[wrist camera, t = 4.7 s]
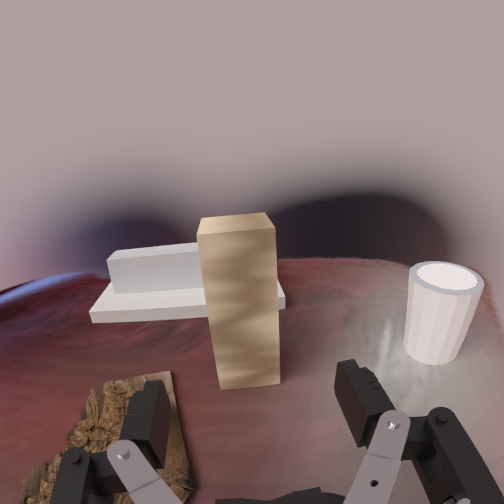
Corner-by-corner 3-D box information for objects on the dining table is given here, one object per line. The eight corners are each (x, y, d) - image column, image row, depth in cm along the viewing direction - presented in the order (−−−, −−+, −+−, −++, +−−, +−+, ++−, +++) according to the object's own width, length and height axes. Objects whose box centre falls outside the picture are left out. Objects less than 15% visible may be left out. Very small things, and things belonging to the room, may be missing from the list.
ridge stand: (92, 323, 31) (78, 275, 29) (120, 281, 42) (112, 242, 40) (285, 308, 32) (283, 256, 30) (269, 268, 44) (267, 227, 42)
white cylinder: (398, 369, 21) (415, 292, 19) (394, 324, 27) (404, 258, 25) (471, 369, 19) (496, 295, 16) (455, 326, 25) (470, 261, 22)
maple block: (220, 390, 21) (196, 234, 17) (220, 354, 25) (201, 218, 21) (280, 383, 21) (275, 227, 18) (271, 349, 26) (264, 212, 22)
